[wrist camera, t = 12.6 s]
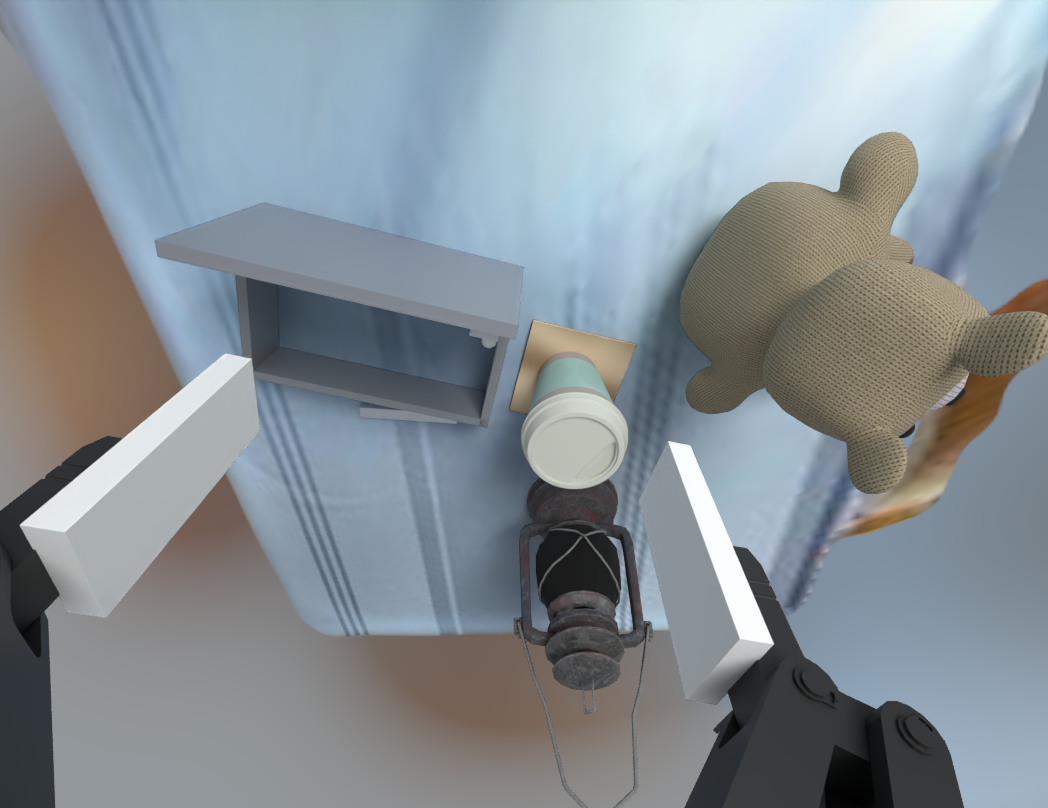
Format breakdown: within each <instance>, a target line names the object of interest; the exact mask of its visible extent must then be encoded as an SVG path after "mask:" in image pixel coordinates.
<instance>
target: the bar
mask: <svg viewBox="0 0 1048 808" xmlns="http://www.w3.org/2000/svg"><path fill="white" fill-rule="evenodd" d="M359 410H360V417H364V418H379V419H393V420H408V421H422V422H437V423H451V424H457V421H452V420H448V419H443V418H438V417H433V416H429V415H424V414H419V413H414V412H410V411H405V410H400V409H395V408H391V407H386V406H381V405H376V404H367V403H362V404H361V405H360V407H359Z"/></svg>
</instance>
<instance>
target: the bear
mask: <svg viewBox="0 0 1048 808" xmlns="http://www.w3.org/2000/svg"><path fill="white" fill-rule="evenodd" d="M917 176H918V161H917V155H916V151H915V148H914V146H913V144H912V142H911V141H910V140H909V139H908V138H907V137H906V136H904V135H903V134H901V133H897V132H888V133H881V134H878V135H876V136H873V137H871V138H869V139H868V140H867V141H865V142H864V143H863V144H861V145H860V146H859V147H858V148H857V149H856V150H855V151H854V153H853V154H852V155H851V157H850V159H849V161H848V162H847V164H846V166H845V168H844V170H843V173H842V176H841V181H840V189H839V191H838V192H831V191H828V190H826V189H823V188H820V187H818V186H815V185H810V184H805V183H799V182H770V183H768V184H766V185H764V186H762V187H760V188H758V189H757V190H755V191H753V192H752V193H750V194H748V195H747V196H745V197H743V198H742V199H741V200H740V201H739V202H738V203H737V204H736V205H735V206H734V207H733V208H732V209H731V210H730V211H729V212H728V213H727V214H726V215H725V216H724V218H723V219H722V221H721V222H720V223H719V225H718V226H717V228H716V229H715V230H714V232H713V234H712V235H711V237H710V238H709V240H708V242H707V243H706V245H705V246H704V248H703V250H702V251H701V253H700V254H699V256H698V258H697V259H696V261H695V263H694V265H693V266H692V268H691V270H690V272H689V274H688V276H687V279H686V282H685V285H684V287H683V290H682V293H681V297H680V320H679V322H680V323H681V325H682V327H683V329H684V331H685V333H686V335H687V337H688V338H689V339H690V340H691V341H692V343H693V344H694V345H695V346H696V347H697V348H698V349H699V350H700V351H701V352H702V353H703V354H704V355H705V356H706V357H707V358H709V360H710V361H711V366H709V367H707V368H705V369H702V370H700V371H699V372H698V373H696V374H695V375H694V376H693V378H692V379H691V380H690V381H689V382H688V385H687V389H686V398H687V401H688V403H689V404H690V406H691V407H692V408H693V409H695V410H697V411H699V412H703V413H707V414H717V413H723V412H728V411H730V410H733V409H734V408H736V407H737V406H739V405H740V404H741V403H742V402H743V401H744V400H745V399H746V398H747V397H748V396H749V395H751V394H752V393H754V392H756V391H757V390H759V389H762V388H766V390H767V392H768V393H769V394H770V395H771V397H772V398H773V399H774V400H775V401H776V402H777V404H778V405H779V406H780V407H781V408H782V409H783V410H784V411H785V412H787V413H788V414H790V415H791V416H793V417H794V418H796V419H797V420H799V421H801V422H802V423H804V424H805V425H807V426H809V427H811V428H812V429H814V430H817V431H819V432H821V433H823V434H826V435H828V436H831V437H833V438H835V439H838V440H841V441H844V442H846V444H847V453H848V470H849V476H850V478H851V481H852V483H853V484H854V486H855V487H856V488H857V489H858V490H860V491H861V492H864V493H867V494H878V493H883V492H886V491H888V490H890V489H892V488H893V487H895V486H896V485H897V484H898V483H899V482H900V480H901V479H902V477H903V476H904V473H905V470H906V467H907V451H906V446H905V445H904V443H903V441H902V440H901V439H900V438H905V437H908V436H909V435H911V434H912V433H913V431H914V429H915V423H916V422H917V421H918V420H919V419H920V418H921V417H922V416H923V415H924V414H925V413H928V412H930V411H933V410H935V409H938V408H941V407H943V406H944V405H949V406H950V405H953V404H954V403H956V402H957V401H958V400H959V399H960V398H961V397H963V395H964V394H965V392H966V391H965V389H964V385H965V383H966V380H967V378H968V375H969V373H970V372H971V373H972V374H974V375H978V376H982V377H996V376H1001V375H1006V374H1012V373H1015V372H1018V371H1021V370H1024V369H1026V368H1028V367H1030V366H1032V365H1033V364H1035V363H1037V362H1038V361H1039V360H1040V359H1041V358H1043V357H1044V356H1045V355H1046V354H1047V353H1048V316H1047V315H1045V314H1042V313H1039V312H1030V311H1023V312H1013V313H1007V314H1000V315H994V316H989V314H988V313H987V312H986V310H985V309H984V308H983V306H981V305H980V304H979V303H978V302H977V301H976V300H975V299H974V298H972V297H971V296H970V295H969V294H968V293H966V292H965V291H964V290H963V289H961V288H960V287H959V286H957V285H956V284H954V283H952V282H951V281H949V280H947V279H945V278H943V277H941V276H940V275H938V274H936V273H934V272H932V271H929V270H927V269H925V268H921V267H918V266H915V265H912V262H913V259H914V253H913V249H912V247H911V246H910V245H909V244H908V242H906V241H904V240H903V239H900V238H897V237H895V236H892V235H890V230H891V227H892V224H893V221H894V219H895V217H896V215H897V213H898V211H899V210H900V208H901V207H902V205H903V204H904V202H905V201H906V199H907V198H908V196H909V194H910V193H911V191H912V189H913V187H914V185H915V183H916V179H917Z"/></svg>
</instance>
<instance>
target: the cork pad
mask: <svg viewBox="0 0 1048 808" xmlns="http://www.w3.org/2000/svg"><path fill="white" fill-rule="evenodd" d="M635 348H636V344H633V343H629V342H625V341H621V340H617V339H612V338H608V337H604V336H600V335H596V334H591V333H587V332H583V331H579V330H574V329H570V328H566V327H562V326H558V325H553V324H549V323H545V322H541V321H537V320H533V323H532V326H531V330H530V334H529V337H528V341H527V345H526V349H525V352H524V356H523V360H522V364H521V367H520V371H519V375H518V378H517V382H516V386H515V390H514V393H513V397H512V401H511V405H510V409H509V410H512V411H516V412H521V413H526V414H529V411H530V408H531V404H532V400H533V396H534V392H535V388H536V384H537V380H538V376H539V373H540V370H541V367H542V366H543V364H544V363H545V362H546V361H547V360H548V359H549V358H550V357H552V356H554V355H556V354H558V353H561V352H577V353H581V354H583V355H585V356H587V357H588V358H589V359H590V360H591V361H592V362H593V363H594V364H595V366H596V368H597V370H598V372H599V374H600V376H601V379H602V381H603V383H604V385H605V387H606V389H607V391H608V393H609V395H610V398H611V400H612V402H614V400H615V397H616V395H617V392H618V390H619V387H620V385H621V382H622V380H623V378H624V375H625V373H626V370H627V368H628V365H629V363H630V360H631V358H632V355H633V353H634V350H635Z"/></svg>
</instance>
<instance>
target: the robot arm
mask: <svg viewBox="0 0 1048 808" xmlns="http://www.w3.org/2000/svg"><path fill="white" fill-rule="evenodd" d="M259 431H260V426H259V417H258V409H257V400H256V392H255V383H254V374H253V366H252V359H251V358H245V357H240V356H235V355H230V354H224V355H223V356H221V357H220V358H219V359H218V360H217V361H215V362H214V363H213V364H212V365H211V366H209V367H208V368H207V369H206V370H205V371H203V372H202V373H201V374H200V375H199V376H197V377H196V378H195V379H194V380H193V381H191V382H190V383H189V384H188V385H187V386H185V387H184V388H183V389H182V390H181V391H180V392H178V393H177V394H176V395H175V396H174V397H172V398H171V399H170V400H169V401H168V402H166V403H165V404H164V405H163V406H162V407H160V408H159V409H158V410H157V411H156V412H154V413H153V414H152V415H151V416H150V417H149V418H147V419H146V420H145V421H144V422H142V423H141V424H140V425H139V426H138V427H136V428H135V429H134V430H133V431H132V432H130V433H129V434H128V435H127V436H126V437H125V438H123V439H122V438H117V437H111V436H106V437H104V438H102V439H100V440H97V441H95V442H93V443H91V444H88V445H86V446H84V447H82V448H81V449H79V450H78V451H77V452H75V453H74V454H73V455H72V456H70V457H69V458H68V459H66V460H65V461H64V462H63V463H62V465H61V466H57V467H56V468H55V469H54V470H52V471H51V472H50V473H48V474H47V475H46V477H45V479H41V480H39V481H38V482H37V483H35V484H34V485H33V486H32V487H30V488H29V489H28V490H27V491H25V492H24V493H23V494H21V495H20V496H19V497H18V498H16V499H15V500H14V501H12V502H11V503H10V504H9V505H7V506H6V507H5V508H3V509H2V510H1V511H0V808H55V791H54V766H53V765H54V764H53V739H52V712H51V685H50V660H49V659H50V658H49V631H48V619H47V617H46V614H45V612H44V611H45V610H46V609H47V608H48V607H49V606H50V605H51V604H52V602H54V600H55V599H56V598H57V597H58V596H59V597H60V599H61V601H62V603H63V605H64V607H65V608H66V610H67V612H70V613H77V614H84V615H91V616H98V617H105V618H106V617H107V616H108V615H109V613H110V612H111V611H112V610H113V609H114V607H115V606H116V605H117V604H118V603H119V601H120V600H121V599H122V598H123V596H124V595H125V594H126V593H127V592H128V590H129V589H130V588H131V587H132V585H133V584H134V583H135V582H136V581H137V579H138V578H139V577H140V576H141V575H142V573H143V572H144V571H145V570H146V569H147V567H148V566H149V565H150V563H151V562H152V561H153V560H154V559H155V558H156V556H157V555H158V554H159V553H160V551H161V550H162V549H163V548H164V547H165V545H166V544H167V543H168V542H169V540H170V539H171V538H172V537H173V536H174V534H175V533H176V532H177V531H178V530H179V528H180V527H181V526H182V525H183V523H184V522H185V521H186V520H187V519H188V518H189V516H190V515H191V514H192V513H193V511H194V510H195V509H196V508H197V507H198V505H199V504H200V503H201V502H202V501H203V499H204V498H205V497H206V496H207V494H208V493H209V492H210V491H211V490H212V488H213V487H214V486H215V485H216V484H217V482H218V481H219V480H220V479H221V477H222V476H223V475H224V474H225V473H226V471H227V470H228V469H229V468H230V467H231V465H232V464H233V463H234V462H235V460H236V459H237V458H238V457H239V456H240V454H241V453H242V452H243V451H244V450H245V448H246V447H247V446H248V445H249V443H250V442H251V441H252V440H253V439H254V437H255V436H256V435H257V434H258V433H259ZM639 504H640V509H641V513H642V517H643V521H644V525H645V529H646V534H647V538H648V542H649V546H650V550H651V554H652V559H653V563H654V567H655V571H656V575H657V580H658V584H659V588H660V592H661V596H662V600H663V605H664V609H665V613H666V617H667V621H668V626H669V630H670V634H671V638H672V642H673V646H674V651H675V655H676V659H677V663H678V667H679V672H680V675H681V680H682V684H683V688H684V692H685V697H686V701H693V702H700V703H707V704H714V705H717V704H718V703H719V702H720V701H721V699H722V698H723V697H724V696H725V695H726V694H727V693H728V695H729V698H730V701H731V704H732V707H733V710H732V711H731V712H730V713H729V714H728V715H727V716H726V717H725V718H724V719H723V720H722V721H721V722H720V723H719V724H718V725H717V726H716V727H715V728H714V731H715V732H716V733H717V734H718V733H719V732H720V733H719V735H718V737H717V739H716V742H715V743H714V746H713V748H712V750H711V752H710V754H709V756H708V758H707V761H706V763H705V765H704V767H703V769H702V771H701V774H700V775H699V778H698V780H697V782H696V784H695V786H694V788H693V791H692V793H691V795H690V797H689V799H688V801H687V803H686V806H685V808H964V806H963V802H962V798H961V794H960V790H959V787H958V782H957V779H956V774H955V770H954V766H953V762H952V758H951V755H950V752H949V750H948V748H947V745H946V743H945V741H944V740H943V738H942V737H941V736H940V734H939V733H938V731H937V730H936V728H935V727H934V726H933V725H932V724H931V723H930V722H929V721H928V720H927V719H926V718H925V717H924V716H923V715H921V714H920V713H918V712H917V711H915V710H914V709H913V708H911V707H910V706H908V705H906V704H903V703H900V702H898V701H887V702H886V703H884V704H883V705H882V706H880V707H879V708H878V709H875V708H873V707H871V706H869V705H866V704H864V703H862V702H860V701H858V700H855V699H854V698H852V697H850V696H847V695H845V694H843V693H841V692H840V691H838V688H837V687H836V685H835V684H834V682H833V681H832V680H831V678H830V677H829V675H828V674H827V673H825V672H824V671H823V670H822V669H821V668H820V667H819V666H818V665H816V664H815V663H813V662H811V661H810V660H808V659H806V658H805V657H804V656H803V654H802V651H801V649H800V647H799V645H798V643H797V641H796V639H795V636H794V635H793V632H792V630H791V628H790V626H789V624H788V621H787V619H786V617H785V615H784V613H783V611H782V608H781V606H780V604H779V602H778V601H776V596H775V593H774V591H773V589H772V587H771V586H769V581H768V578H767V576H766V574H765V572H764V570H763V568H762V565H761V564H760V563H759V562H758V561H757V559H756V558H755V557H754V556H753V555H752V554H751V552H750V551H749V550H748V549H747V548H742V547H736V546H732V543H731V541H730V539H729V536H728V534H727V532H726V529H725V527H724V524H723V522H722V520H721V517H720V515H719V513H718V510H717V508H716V505H715V503H714V501H713V498H712V496H711V494H710V491H709V489H708V486H707V484H706V482H705V479H704V477H703V475H702V472H701V470H700V467H699V465H698V463H697V460H696V458H695V456H694V453H693V451H692V449H691V446H690V445H685V444H680V443H675V442H670V441H668V442H667V444H666V446H665V448H664V450H663V452H662V454H661V456H660V458H659V460H658V462H657V464H656V466H655V468H654V470H653V472H652V474H651V476H650V478H649V480H648V482H647V484H646V486H645V488H644V490H643V492H642V494H641V496H640V498H639Z"/></svg>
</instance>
